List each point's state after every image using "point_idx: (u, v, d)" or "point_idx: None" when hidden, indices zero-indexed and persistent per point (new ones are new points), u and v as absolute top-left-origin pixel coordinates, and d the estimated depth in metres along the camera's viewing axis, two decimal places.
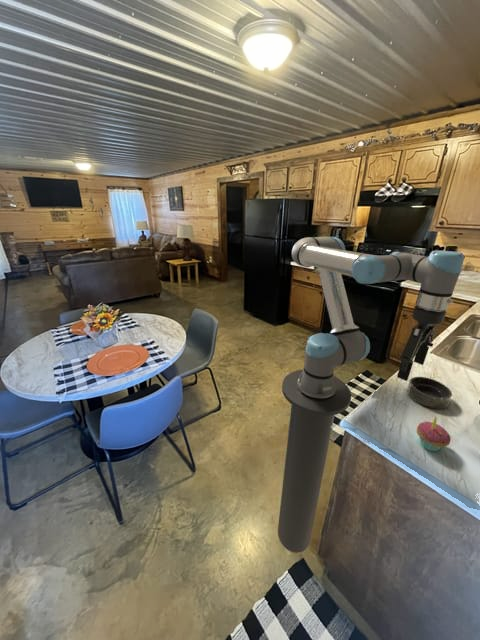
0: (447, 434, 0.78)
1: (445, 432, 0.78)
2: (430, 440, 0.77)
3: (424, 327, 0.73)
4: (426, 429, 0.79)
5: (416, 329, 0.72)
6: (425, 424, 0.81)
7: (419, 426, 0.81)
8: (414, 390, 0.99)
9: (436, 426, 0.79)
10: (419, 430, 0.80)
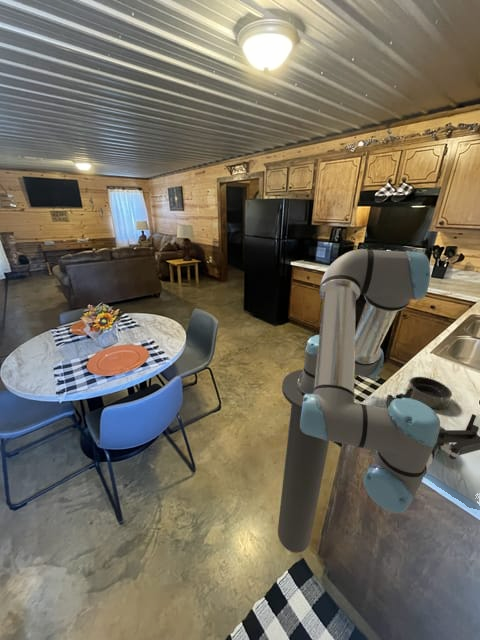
0: None
1: None
2: None
3: None
4: None
5: None
6: None
7: None
8: (414, 390, 0.99)
9: None
10: None
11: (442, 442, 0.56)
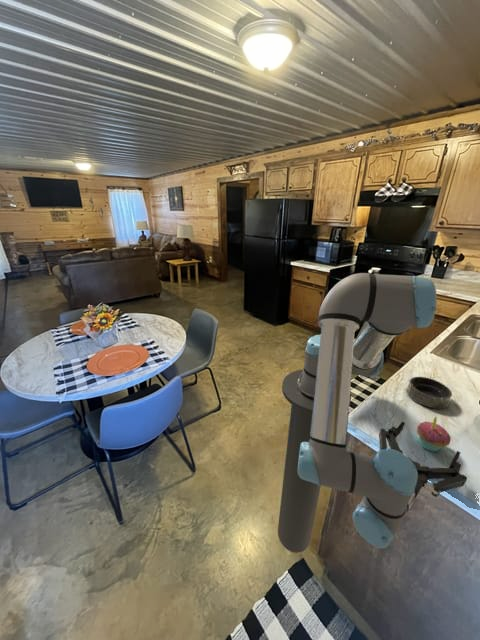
0: (447, 434, 0.78)
1: (445, 432, 0.78)
2: (430, 440, 0.77)
3: None
4: (426, 429, 0.79)
5: None
6: (425, 424, 0.81)
7: (419, 426, 0.81)
8: (414, 390, 0.99)
9: (436, 426, 0.79)
10: (419, 430, 0.80)
11: (426, 480, 0.63)
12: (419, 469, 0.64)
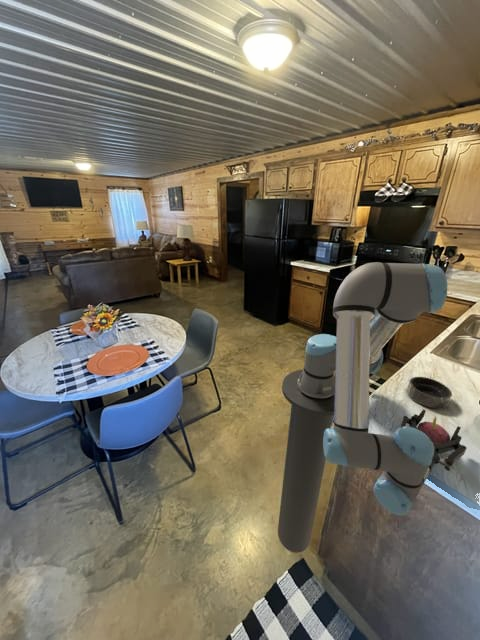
0: (447, 434, 0.78)
1: (445, 432, 0.78)
2: None
3: None
4: (426, 429, 0.79)
5: None
6: (424, 424, 0.81)
7: (419, 426, 0.81)
8: (414, 390, 0.99)
9: (436, 426, 0.79)
10: (419, 430, 0.80)
11: (438, 458, 0.69)
12: None
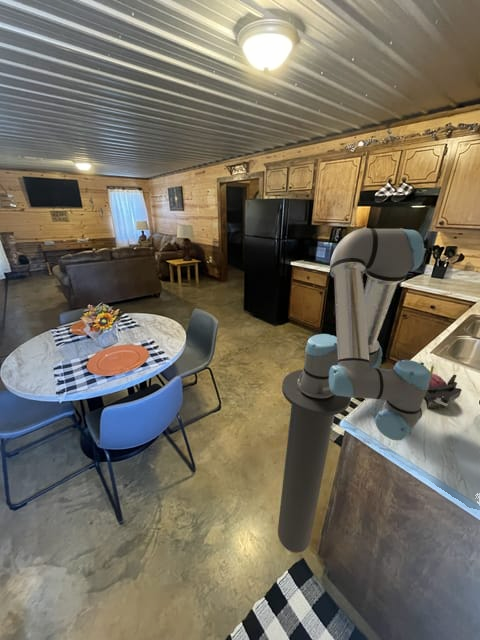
0: (443, 381, 0.83)
1: (442, 380, 0.83)
2: None
3: None
4: None
5: None
6: None
7: None
8: None
9: (433, 375, 0.85)
10: None
11: (435, 397, 0.74)
12: (429, 389, 0.75)
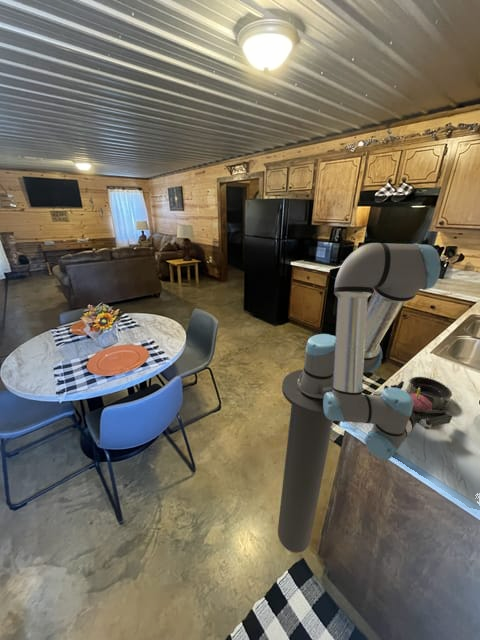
0: (429, 402, 0.91)
1: (428, 401, 0.91)
2: (415, 407, 0.90)
3: None
4: None
5: None
6: (410, 395, 0.93)
7: None
8: (414, 390, 0.99)
9: (420, 396, 0.92)
10: None
11: (420, 418, 0.81)
12: (415, 410, 0.83)
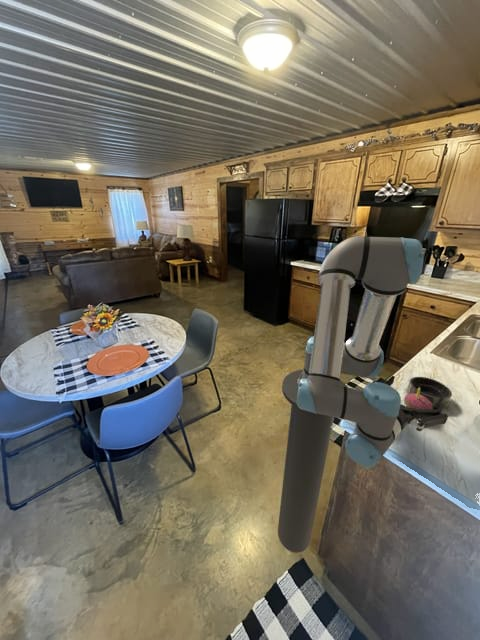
0: (429, 402, 0.91)
1: (428, 401, 0.91)
2: (415, 407, 0.90)
3: None
4: (411, 399, 0.92)
5: None
6: (410, 395, 0.93)
7: (406, 397, 0.94)
8: (414, 390, 0.99)
9: (420, 396, 0.92)
10: (406, 400, 0.93)
11: (411, 418, 0.70)
12: (405, 409, 0.72)
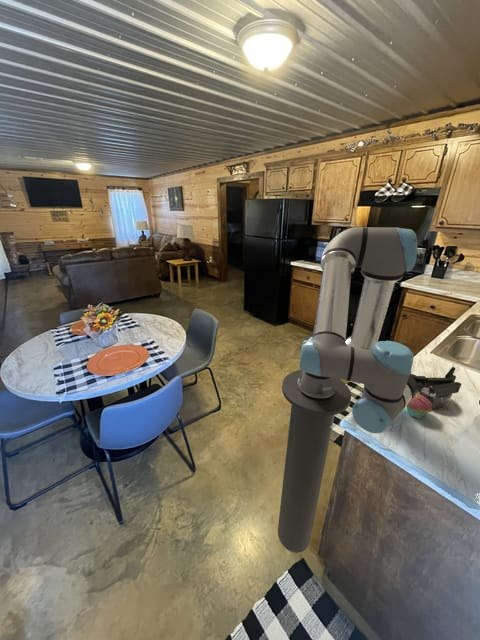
0: (429, 402, 0.91)
1: (428, 401, 0.91)
2: (415, 407, 0.90)
3: None
4: None
5: None
6: None
7: None
8: None
9: (420, 396, 0.92)
10: None
11: (422, 385, 0.65)
12: (416, 377, 0.67)
